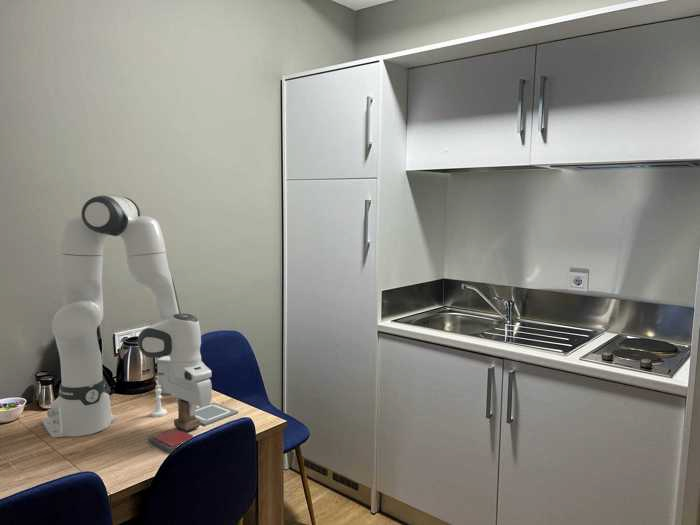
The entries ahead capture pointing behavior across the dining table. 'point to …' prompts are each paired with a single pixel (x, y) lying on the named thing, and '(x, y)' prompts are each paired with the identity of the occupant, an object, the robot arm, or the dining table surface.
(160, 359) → the supplement box
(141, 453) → the dining table surface
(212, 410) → the marked board
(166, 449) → the ink pad
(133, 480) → the dining table surface
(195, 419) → the stamp
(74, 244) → the robot arm
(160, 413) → the chess piece
